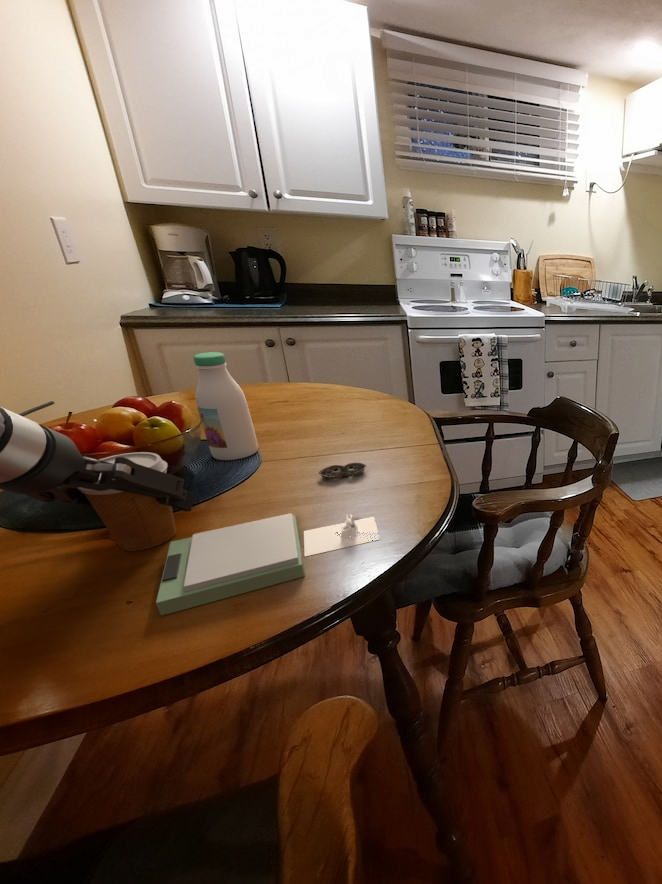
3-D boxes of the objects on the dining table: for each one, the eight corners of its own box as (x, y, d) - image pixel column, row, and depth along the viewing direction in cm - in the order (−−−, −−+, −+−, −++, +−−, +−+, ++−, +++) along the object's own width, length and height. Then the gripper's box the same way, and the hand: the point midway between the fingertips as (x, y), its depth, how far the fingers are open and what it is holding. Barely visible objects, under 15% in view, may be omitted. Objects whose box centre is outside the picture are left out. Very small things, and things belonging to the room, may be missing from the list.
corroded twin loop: (367, 476, 92) (366, 471, 91) (319, 483, 89) (318, 478, 88) (366, 465, 96) (365, 460, 95) (319, 471, 93) (318, 466, 92)
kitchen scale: (174, 553, 69) (168, 536, 68) (297, 525, 77) (293, 510, 75) (161, 616, 58) (153, 597, 57) (304, 576, 66) (300, 559, 65)
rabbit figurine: (359, 537, 75) (356, 519, 73) (341, 541, 74) (337, 523, 72) (357, 527, 77) (354, 509, 76) (339, 531, 76) (336, 513, 75)
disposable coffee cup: (123, 526, 74) (93, 454, 69) (199, 516, 77) (175, 447, 72) (89, 563, 66) (52, 486, 61) (176, 551, 69) (147, 476, 64)
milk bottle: (256, 442, 103) (231, 347, 95) (262, 455, 98) (236, 356, 89) (210, 450, 98) (180, 352, 90) (214, 464, 93) (182, 361, 85)
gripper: (-131, 489, 49) (63, 532, 70) (115, 482, 53) (230, 525, 74) (-101, 421, 52) (78, 482, 72) (132, 418, 55) (238, 477, 76)
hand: (154, 503), depth 73 cm, fingers closed on disposable coffee cup, 9 cm apart
